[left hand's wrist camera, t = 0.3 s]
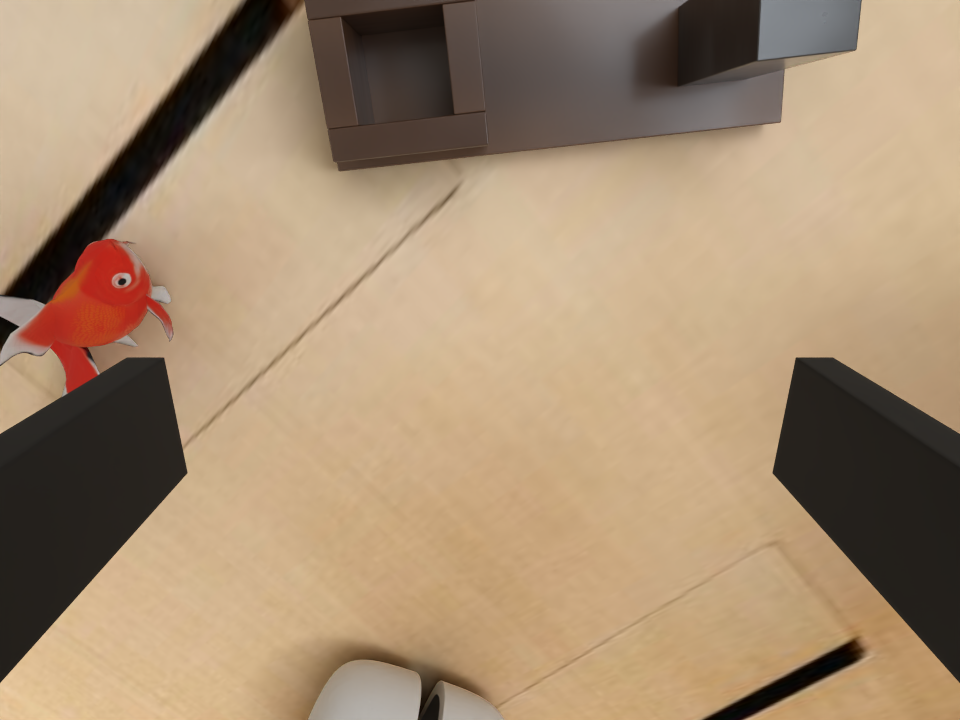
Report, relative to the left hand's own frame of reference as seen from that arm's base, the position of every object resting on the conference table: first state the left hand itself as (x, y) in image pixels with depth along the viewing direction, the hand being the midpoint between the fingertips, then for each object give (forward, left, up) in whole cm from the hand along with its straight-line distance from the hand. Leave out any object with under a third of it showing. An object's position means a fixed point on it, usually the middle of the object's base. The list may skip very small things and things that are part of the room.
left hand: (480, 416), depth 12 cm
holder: (-9, +5, -27) cm, 29 cm away
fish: (+4, -25, -27) cm, 37 cm away
